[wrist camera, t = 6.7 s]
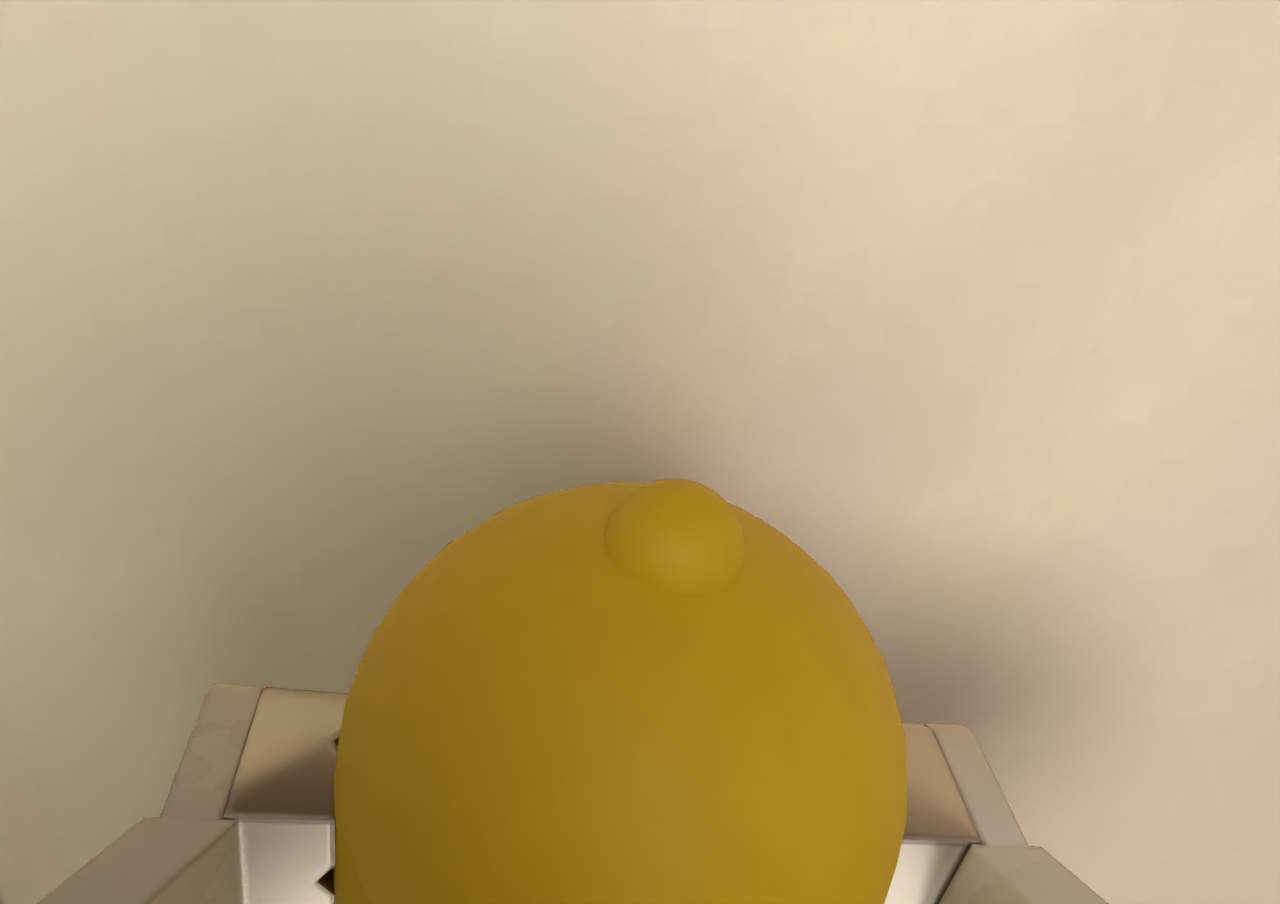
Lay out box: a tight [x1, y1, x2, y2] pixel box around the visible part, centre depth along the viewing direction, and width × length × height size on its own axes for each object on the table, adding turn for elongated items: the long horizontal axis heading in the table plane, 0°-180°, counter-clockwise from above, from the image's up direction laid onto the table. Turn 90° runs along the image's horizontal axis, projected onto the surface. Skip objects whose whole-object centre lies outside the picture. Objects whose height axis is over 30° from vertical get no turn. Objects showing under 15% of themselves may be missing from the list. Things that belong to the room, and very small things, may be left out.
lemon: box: [333, 479, 907, 904], centre depth 10 cm, size 8×5×5 cm, turn 170°
